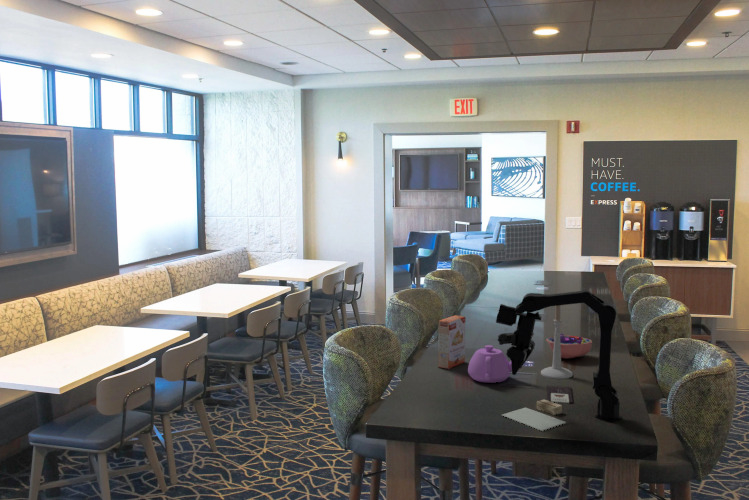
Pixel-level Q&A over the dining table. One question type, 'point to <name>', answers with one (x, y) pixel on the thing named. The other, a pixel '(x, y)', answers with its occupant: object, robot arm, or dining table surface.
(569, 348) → the cell model
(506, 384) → the dining table surface
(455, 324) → the cracker box
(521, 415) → the sage mat
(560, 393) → the chocolate bar
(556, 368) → the candlestick
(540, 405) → the grooved tan block
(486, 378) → the teapot
